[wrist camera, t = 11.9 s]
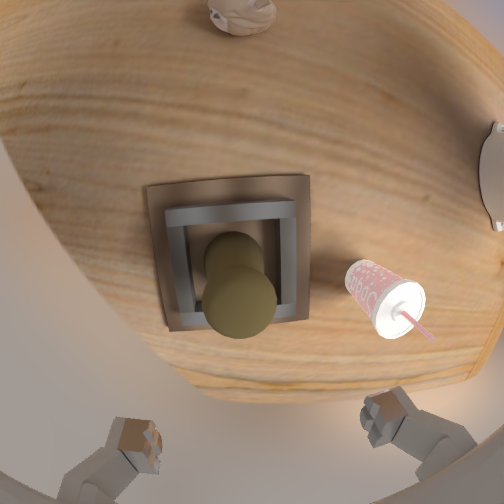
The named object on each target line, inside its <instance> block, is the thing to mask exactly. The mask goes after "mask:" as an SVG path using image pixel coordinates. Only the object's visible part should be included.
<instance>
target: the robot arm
mask: <svg viewBox="0 0 504 504" xmlns="http://www.w3.org/2000/svg"><path fill="white" fill-rule="evenodd" d="M479 176H480V188H481V194H482V198H483V202H484V205H485V207H486V209H487V211H488V213H489V214H490V216H491V219H492V224H493V229H494V231H497V232H500V231H502V230H504V126H503V125H502V124H501V123H498V122H495V123H494V125H493V128H492V132H491V134H490V135H489V137H488V138H487V139H486V141H485V142H484V145H483V148H482V151H481V157H480V168H479ZM364 404H365V406H364V407H363V408H362V409H361V412H360V421H361V424H362V427H363V429H364V430H366V431H368V432H369V434H368V439H369V441H370V443H371V445H372V446H373V448H376V447H379V446H382V445H385V444H387V443H390V442H392V444H394V445H395V446H397V447H398V448H400V449H402V450H403V451H405V452H406V453H408V454H410V455H411V456H413V457H415V458H416V459H418V460H420V461H422V462H423V463H422V464H421V465H420V466H419V467H418V468H417V470H416V472H415V474H416V475H417V477H418V479H419V481H420V482H418V483H416V484H414V485H412V486H410V487H408V488H406V489H404V490H402V491H399V492H397V493H395V494H393V495H390V496H388V497H386V498H383V499H381V500H378V501H376V502H373V503H370V504H504V425H502V426H501V427H500V428H499V429H498V430H497V431H495V432H494V433H493V434H492V435H491V436H489V437H488V438H487V439H485V440H484V441H483V442H482V443H480V444H479V445H478V444H477V443H476V442H475V441H474V439H473V438H472V436H471V435H470V434H469V432H468V431H467V430H466V429H465V428H464V426H462V425H459V424H456V423H454V422H451V421H449V420H446V419H443V418H441V417H438V416H436V415H433V414H431V413H428V412H426V411H423V410H420V411H419V410H418V409H417V408H416V406H415V405H414V404H413V402H412V401H411V400H410V398H409V397H408V395H407V394H406V393H405V391H404V390H403V389H402V387H400V386H397V387H394V388H391V389H389V390H384V391H381V392H378V393H375V394H372V395H369V396H367V397H366V398H365V400H364ZM155 427H156V426H155V423H154V422H153V421H151V420H140V419H131V418H123V417H116V418H115V419H114V420H113V423H112V426H111V429H110V432H109V435H108V438H107V442H106V445H105V448H104V447H101V448H99V449H98V450H97V451H96V452H94V453H93V454H92V455H90V456H89V457H88V458H86V459H85V460H84V461H83V462H81V463H80V464H78V465H77V466H76V467H75V468H73V469H72V470H70V471H69V472H68V473H66V474H65V475H64V477H63V480H62V483H61V487H60V490H59V492H58V496H57V499H54V498H52V497H50V496H47V495H45V494H43V493H41V492H38V491H37V490H35V489H32V488H30V487H28V486H27V485H25V484H23V483H21V482H19V481H17V480H15V479H14V478H12V477H10V476H8V475H7V474H5V473H3V472H2V471H0V504H118V503H116V502H115V501H114V500H115V499H116V498H117V497H118V496H119V495H120V494H121V492H122V491H123V490H124V489H125V488H126V487H127V486H128V485H129V484H130V483H131V482H132V481H133V479H134V478H135V477H136V476H137V475H138V474H139V473H147V474H159V468H160V460H159V458H158V455H160V454H161V453H162V439H161V435H160V433H159V432H158V431H157V430H155Z"/></svg>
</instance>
